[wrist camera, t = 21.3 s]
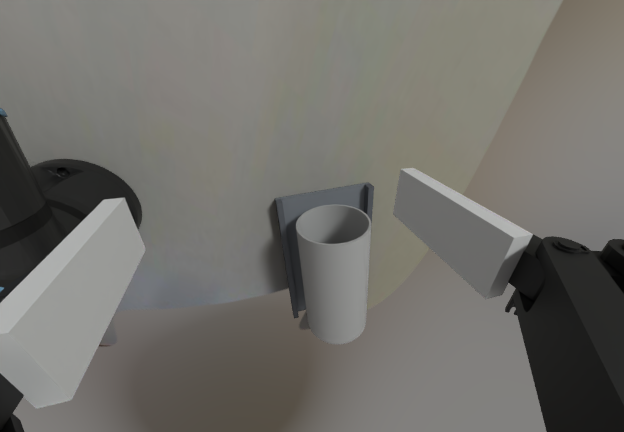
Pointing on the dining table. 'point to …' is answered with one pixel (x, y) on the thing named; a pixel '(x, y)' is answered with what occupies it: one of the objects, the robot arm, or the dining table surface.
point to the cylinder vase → (335, 270)
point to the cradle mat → (299, 204)
